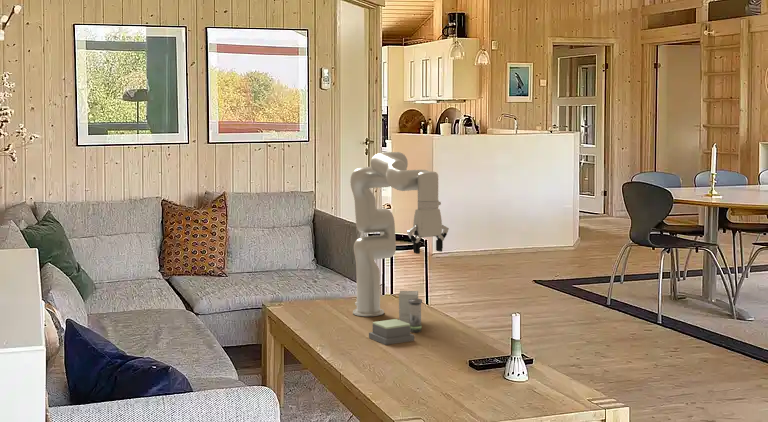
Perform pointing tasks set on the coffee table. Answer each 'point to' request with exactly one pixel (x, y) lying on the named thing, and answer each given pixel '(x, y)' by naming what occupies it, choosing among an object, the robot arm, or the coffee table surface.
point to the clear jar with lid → (415, 315)
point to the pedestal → (391, 332)
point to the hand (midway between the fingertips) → (428, 252)
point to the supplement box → (405, 304)
